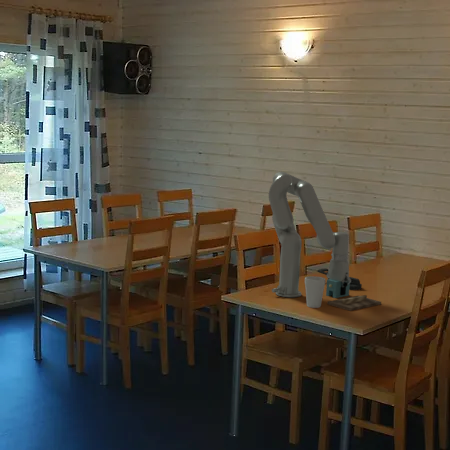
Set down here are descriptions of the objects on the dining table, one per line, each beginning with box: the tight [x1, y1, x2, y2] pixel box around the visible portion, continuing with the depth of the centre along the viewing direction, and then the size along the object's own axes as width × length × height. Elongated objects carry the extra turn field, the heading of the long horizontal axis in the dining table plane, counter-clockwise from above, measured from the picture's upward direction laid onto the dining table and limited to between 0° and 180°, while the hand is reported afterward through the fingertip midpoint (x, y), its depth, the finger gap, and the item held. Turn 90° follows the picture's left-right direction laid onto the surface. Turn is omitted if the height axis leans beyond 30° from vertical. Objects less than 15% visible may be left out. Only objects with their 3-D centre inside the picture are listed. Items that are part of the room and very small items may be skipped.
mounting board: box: [326, 294, 382, 312], centre depth 335 cm, size 22×14×3 cm, turn 129°
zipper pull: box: [317, 267, 363, 291], centre depth 374 cm, size 9×7×25 cm
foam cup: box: [304, 275, 326, 309], centre depth 329 cm, size 10×9×13 cm
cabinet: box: [325, 278, 350, 299], centre depth 351 cm, size 11×6×8 cm, turn 129°
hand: (337, 293), depth 351 cm, fingers closed on cabinet, 6 cm apart
